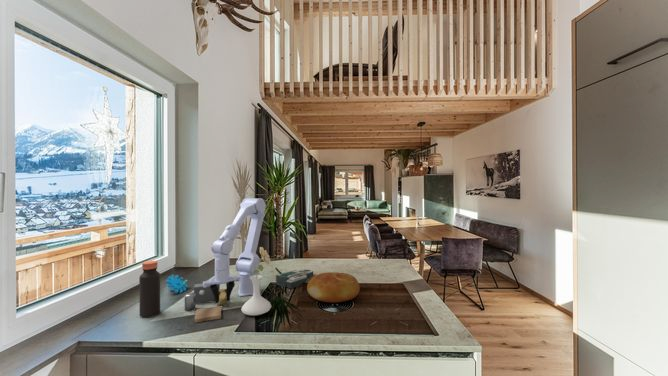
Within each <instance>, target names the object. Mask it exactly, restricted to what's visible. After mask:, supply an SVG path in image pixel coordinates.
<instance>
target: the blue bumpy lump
mask: <svg viewBox="0 0 668 376" xmlns="http://www.w3.org/2000/svg"><path fill="white" fill-rule="evenodd" d="M183 279H184V278H183V277H182V276H181V277H180V276H179V275H178V274H176V275H174V274H171V275H170V276H168V277H167V280H165V284H166V288H169V292H172V291H174V293H175V294H178V292H179V293H180V294H182V293H183V292H185V291H186V290H187V287H188V284H187V283H188V279H184V280H183Z"/></svg>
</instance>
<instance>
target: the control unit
mask: <svg viewBox="0 0 668 376" xmlns="http://www.w3.org/2000/svg"><path fill="white" fill-rule="evenodd" d="M220 285H221V284H219V285H217V287H218V290H219V289H221V287H220ZM193 293H196V303H198V304H203V302H205V303H211V302H210V301H213V302H215V299H214V295H213V292H212V290H211V288H210V286H208V287H206V288H204V287H203V283H195V284H194V286H193Z"/></svg>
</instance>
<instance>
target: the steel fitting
mask: <svg viewBox="0 0 668 376" xmlns="http://www.w3.org/2000/svg"><path fill="white" fill-rule="evenodd" d="M196 305H197V304H196V293H194V292H187V293H185V294H184V312H193V311H195V310H197V309H196V308H197V307H196ZM194 309H195V310H194ZM192 310H193V311H192Z"/></svg>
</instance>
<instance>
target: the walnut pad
mask: <svg viewBox="0 0 668 376" xmlns="http://www.w3.org/2000/svg"><path fill="white" fill-rule="evenodd" d="M214 319H215V320H220V319H222V307H221V306H212V307H205V308H204V307H203V308H198V309H195V314H194V319H193V322H194V323H202V322H207V321H208V320H209V321H215V320H214Z"/></svg>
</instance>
